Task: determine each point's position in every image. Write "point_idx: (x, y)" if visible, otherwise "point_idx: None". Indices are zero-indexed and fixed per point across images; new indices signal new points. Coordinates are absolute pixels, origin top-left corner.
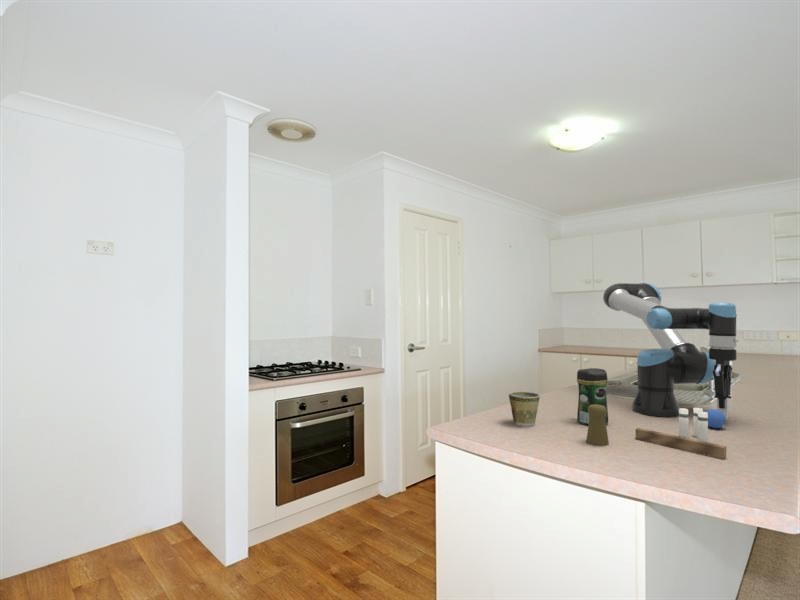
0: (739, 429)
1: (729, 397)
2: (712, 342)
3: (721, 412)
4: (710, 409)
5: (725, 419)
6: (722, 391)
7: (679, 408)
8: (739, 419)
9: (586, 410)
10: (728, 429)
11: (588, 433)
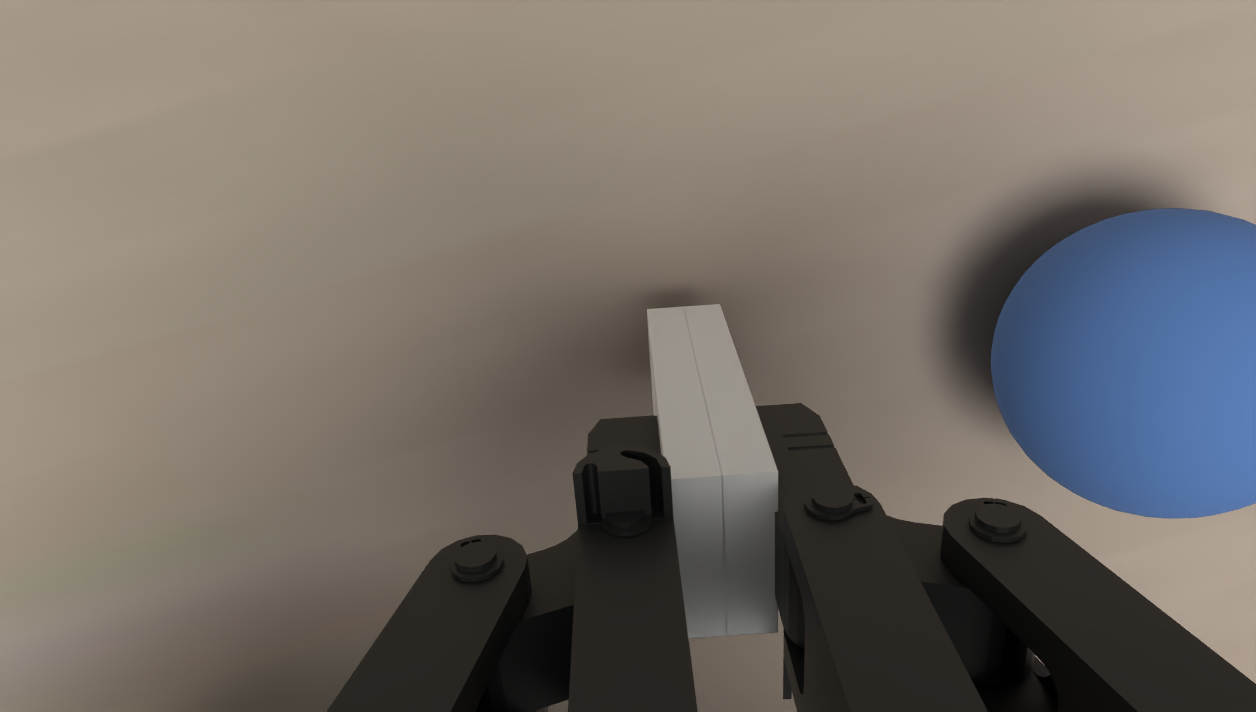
0: (906, 59)
1: (663, 476)
2: None
3: (1219, 320)
4: (1241, 484)
5: (1170, 221)
6: (1159, 639)
7: None
8: (214, 267)
9: None
10: (1028, 162)
11: None
